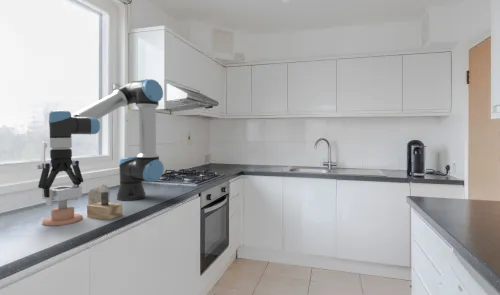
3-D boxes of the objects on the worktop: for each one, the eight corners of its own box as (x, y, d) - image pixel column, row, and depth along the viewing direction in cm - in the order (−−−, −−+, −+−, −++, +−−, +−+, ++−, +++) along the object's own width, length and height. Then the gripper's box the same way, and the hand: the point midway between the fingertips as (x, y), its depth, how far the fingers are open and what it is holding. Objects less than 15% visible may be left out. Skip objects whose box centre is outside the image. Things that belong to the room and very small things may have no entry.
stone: (91, 211, 138) (90, 186, 137) (86, 209, 141) (85, 185, 141) (112, 206, 146) (112, 183, 146) (107, 205, 149) (107, 182, 149)
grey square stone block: (66, 194, 129) (65, 185, 128) (82, 196, 125) (81, 186, 124) (42, 198, 119) (41, 189, 119) (58, 201, 115) (58, 190, 115)
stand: (103, 212, 136) (102, 189, 135) (122, 215, 131) (122, 191, 130) (87, 216, 128) (86, 192, 128) (107, 220, 123) (106, 195, 123)
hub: (68, 214, 132) (67, 191, 131) (90, 218, 126) (89, 193, 126) (34, 223, 119) (33, 197, 118) (57, 227, 113) (56, 200, 113)
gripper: (80, 147, 133) (81, 196, 134) (25, 149, 112) (27, 207, 113) (91, 147, 130) (93, 197, 131) (37, 150, 109) (39, 209, 110)
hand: (62, 202), depth 122 cm, fingers closed on grey square stone block, 10 cm apart
